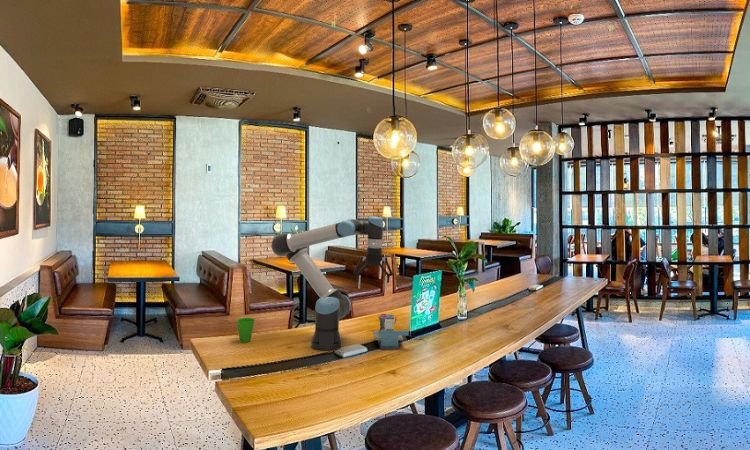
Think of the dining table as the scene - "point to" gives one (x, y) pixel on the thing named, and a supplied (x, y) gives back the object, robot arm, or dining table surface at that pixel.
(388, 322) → the grey rectangular block
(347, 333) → the dining table surface
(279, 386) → the dining table surface
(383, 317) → the mug
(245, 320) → the cup
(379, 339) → the notched panel with ball
